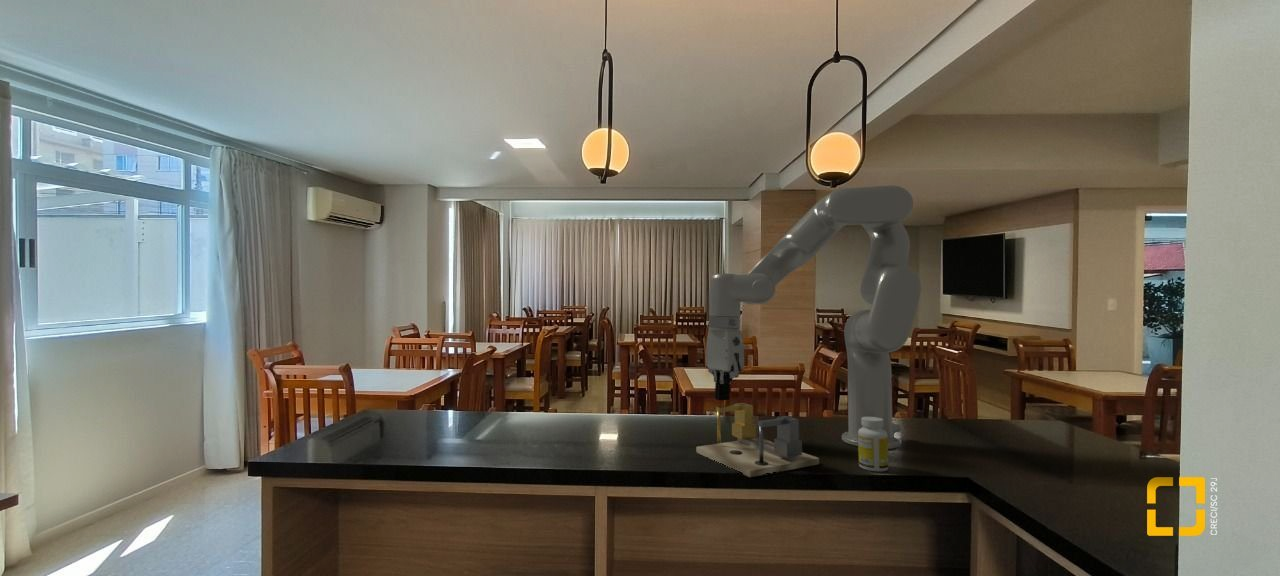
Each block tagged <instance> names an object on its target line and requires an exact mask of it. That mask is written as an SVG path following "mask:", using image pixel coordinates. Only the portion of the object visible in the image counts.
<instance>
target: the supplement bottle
mask: <svg viewBox="0 0 1280 576" xmlns="http://www.w3.org/2000/svg"><path fill="white" fill-rule="evenodd" d="M861 423H862V426H863V428H860V429H859V430H858V446H857V447H858V448H857V451H858V454H857V455H858V465H859V467H860V468H862V469H863V470H866V471H868V472H878V473H879V472H881V473H882V472H886V471H888V470H889V449H888V436H887V432H886V431H884V430H883V429H882V427H883V425H884V424H883V419H881V418H877V417H862V418H861Z"/></svg>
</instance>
